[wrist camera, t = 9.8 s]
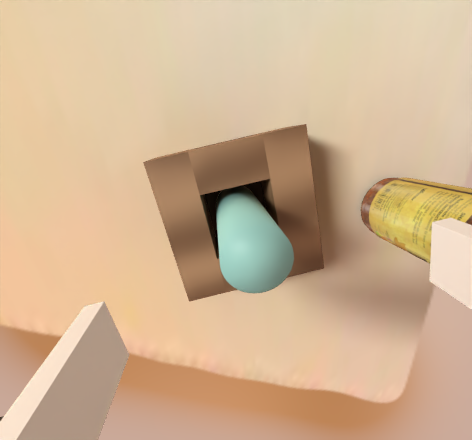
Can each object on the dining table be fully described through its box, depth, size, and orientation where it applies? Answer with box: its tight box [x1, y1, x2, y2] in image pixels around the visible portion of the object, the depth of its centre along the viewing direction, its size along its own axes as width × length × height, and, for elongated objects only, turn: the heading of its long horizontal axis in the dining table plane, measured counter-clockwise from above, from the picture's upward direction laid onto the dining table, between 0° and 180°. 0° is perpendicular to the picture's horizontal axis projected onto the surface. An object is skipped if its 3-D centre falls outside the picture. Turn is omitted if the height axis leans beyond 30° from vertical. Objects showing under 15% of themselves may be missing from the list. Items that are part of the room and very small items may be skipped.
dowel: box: [216, 186, 294, 293], centre depth 19 cm, size 4×4×12 cm
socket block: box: [143, 124, 324, 301], centre depth 23 cm, size 12×12×5 cm
